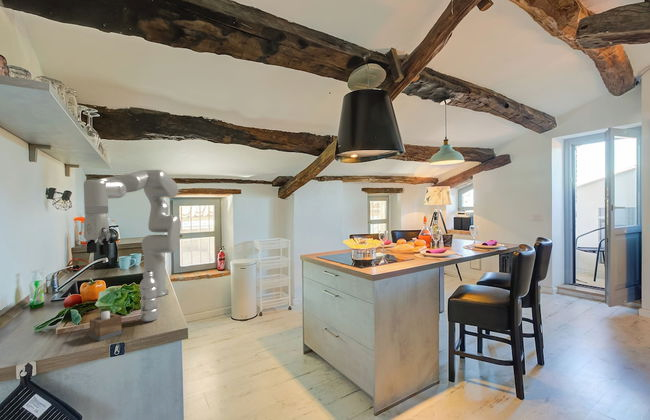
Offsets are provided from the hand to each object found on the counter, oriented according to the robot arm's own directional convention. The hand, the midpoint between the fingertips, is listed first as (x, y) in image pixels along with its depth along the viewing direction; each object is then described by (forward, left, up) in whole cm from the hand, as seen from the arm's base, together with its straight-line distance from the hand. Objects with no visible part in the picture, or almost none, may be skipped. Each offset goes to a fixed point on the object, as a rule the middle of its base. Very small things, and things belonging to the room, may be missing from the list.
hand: (98, 253), depth 120 cm
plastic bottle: (+16, +11, -28) cm, 34 cm away
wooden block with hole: (+16, -5, -26) cm, 31 cm away
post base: (+16, -5, -28) cm, 32 cm away
